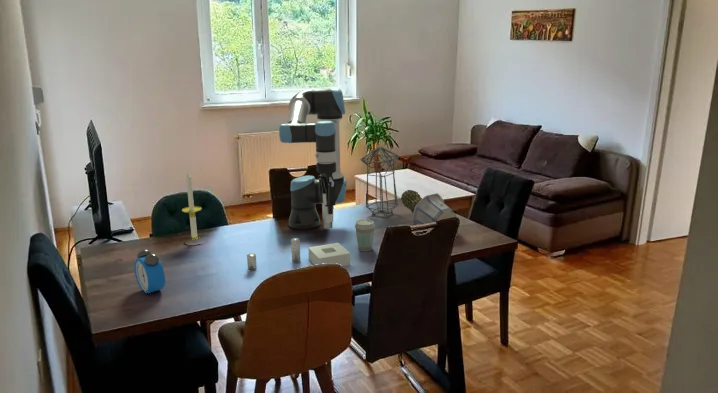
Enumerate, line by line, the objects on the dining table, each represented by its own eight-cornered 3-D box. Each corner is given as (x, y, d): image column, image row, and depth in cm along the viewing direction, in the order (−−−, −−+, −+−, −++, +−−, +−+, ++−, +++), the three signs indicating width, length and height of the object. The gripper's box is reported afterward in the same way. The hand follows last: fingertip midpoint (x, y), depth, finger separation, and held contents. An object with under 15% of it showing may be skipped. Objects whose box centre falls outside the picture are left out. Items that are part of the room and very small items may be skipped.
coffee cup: (373, 253, 236) (373, 225, 232) (353, 251, 237) (352, 224, 234) (376, 245, 244) (376, 219, 240) (357, 244, 245) (357, 218, 242)
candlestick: (178, 244, 249) (170, 172, 240) (193, 237, 258) (186, 167, 249) (197, 247, 246) (189, 174, 237) (211, 239, 254) (204, 169, 246)
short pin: (247, 268, 222) (246, 254, 220) (255, 267, 223) (254, 252, 221) (249, 271, 219) (247, 257, 217) (257, 270, 220) (256, 255, 218)
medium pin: (291, 261, 229) (289, 238, 226) (299, 259, 230) (298, 237, 227) (293, 263, 226) (292, 241, 223) (301, 262, 227) (300, 240, 224)
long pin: (322, 226, 224) (321, 192, 220) (330, 225, 225) (329, 191, 221) (325, 229, 221) (324, 194, 217) (333, 228, 222) (332, 193, 218)
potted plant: (464, 202, 254) (421, 175, 275) (434, 211, 244) (392, 182, 266) (457, 235, 262) (416, 206, 283) (428, 245, 253) (388, 214, 274)
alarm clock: (136, 288, 206) (131, 249, 202) (152, 283, 210) (147, 245, 206) (151, 299, 196) (146, 259, 192) (168, 294, 200) (163, 254, 196)
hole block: (308, 259, 230) (308, 247, 229) (338, 253, 235) (338, 242, 234) (319, 270, 219) (319, 258, 217) (350, 264, 224) (350, 253, 222)
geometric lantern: (387, 221, 276) (385, 151, 267) (360, 216, 285) (357, 148, 275) (403, 212, 289) (401, 145, 280) (377, 208, 298) (374, 143, 288)
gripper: (310, 158, 222) (312, 215, 228) (324, 167, 207) (326, 227, 213) (327, 157, 225) (329, 213, 231) (343, 164, 210) (344, 224, 216)
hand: (328, 220), depth 222 cm, fingers closed on long pin, 3 cm apart
